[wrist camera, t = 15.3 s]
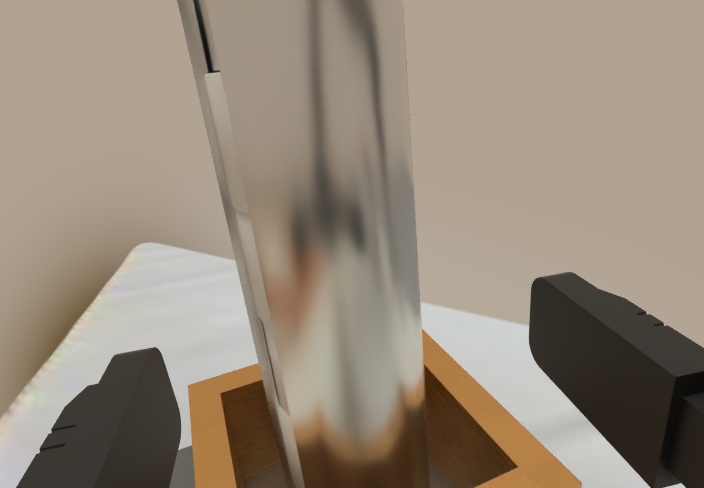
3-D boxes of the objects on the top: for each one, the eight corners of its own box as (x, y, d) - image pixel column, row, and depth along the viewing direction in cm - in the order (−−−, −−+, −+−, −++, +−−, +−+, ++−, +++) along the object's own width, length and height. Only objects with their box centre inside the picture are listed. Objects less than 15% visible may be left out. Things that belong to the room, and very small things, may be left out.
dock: (428, 379, 33) (424, 289, 30) (667, 648, 17) (704, 512, 15) (173, 472, 28) (139, 373, 25) (184, 986, 12) (93, 874, 9)
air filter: (293, 483, 24) (176, -60, 15) (408, 455, 25) (366, -74, 16) (305, 617, 18) (123, -147, 9) (455, 574, 19) (432, -162, 10)
